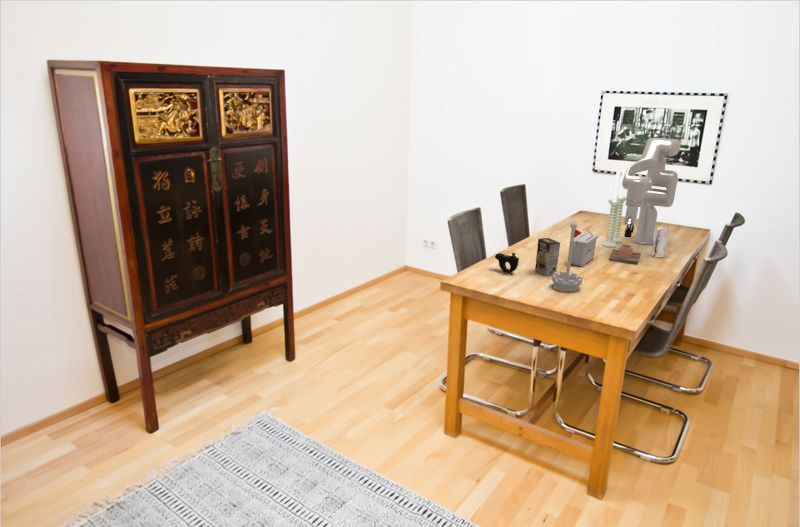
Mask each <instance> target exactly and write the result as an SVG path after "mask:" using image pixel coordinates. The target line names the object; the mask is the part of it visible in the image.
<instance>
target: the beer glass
mask: <svg viewBox="0 0 800 527" xmlns="http://www.w3.org/2000/svg"><path fill="white" fill-rule="evenodd" d="M669 231H670V229H669V228H665V227H655V231H654V237H653V244H652V245H653V247H652V248H653V249H652V251H651V255H652V257H653V256H654V257H653V258H658V257H662V258H664V254H665V252H664V250H665V248H666V245H667V242H668V237H669V233H670V232H669Z"/></svg>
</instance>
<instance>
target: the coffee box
mask: <svg viewBox="0 0 800 527" xmlns="http://www.w3.org/2000/svg"><path fill="white" fill-rule="evenodd" d="M560 248H561V242H559V241H557V240H555V239H552V238H550V237H543V238H542V237H541V238H538V240H537V249H536V257H535V258H536V259H535V268H534V271H536V272H538V273H539V274H542V275H543V274H544V275H543V276H545V275H546V276H547V275H549V276H552V275H553V273H555V272H557V271H558V263H559V257H560V256H559V255H560ZM557 273H558V272H557ZM546 276H545V277H546ZM547 277H548V276H547Z"/></svg>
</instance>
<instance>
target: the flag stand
mask: <svg viewBox="0 0 800 527" xmlns="http://www.w3.org/2000/svg"><path fill="white" fill-rule="evenodd" d="M569 227H570V239H569V247H568V254H567V260H566V261H567V262H566V270H565V271H559V273H558V272H555V273H553V275H551V281H552V282H553V286H554V287H555V288H556V290H557V289H558V291H560V290H562V291H561V292H565V291H569V292H570V293H572V291H575V292H577V290H578V291H579V289H580V285H582V284H583V277H584V276H582V275H577V273H575V272H571V266H572V265H571V258H572V250H573V242H574V238H576V237H578V236H579V235H581V234H582V233H583V232H581V231H580V230H578V229H577V228H578V223H576V222H571V223H570V226H569ZM553 286H552V287H553ZM554 287H553V288H554ZM555 288H554V289H555Z"/></svg>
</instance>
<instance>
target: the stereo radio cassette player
mask: <svg viewBox="0 0 800 527" xmlns="http://www.w3.org/2000/svg"><path fill="white" fill-rule="evenodd" d="M585 230H587V232H586V231H585V232H582V233H581V234H580V235H578V236H577V237H575V238H574V242H573V250H572V258H571V264H572V265H571V266H577V267H578V266H579V267H581V266H582V267H583V266H584V265H586V264H587V263H589V262H590V261H591V260H592V259H594V256H595V250H596V243H597V239H598V238H599V234H597V233H591V232H590V230H589V229H588V228H587V227H586V228H585Z"/></svg>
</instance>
